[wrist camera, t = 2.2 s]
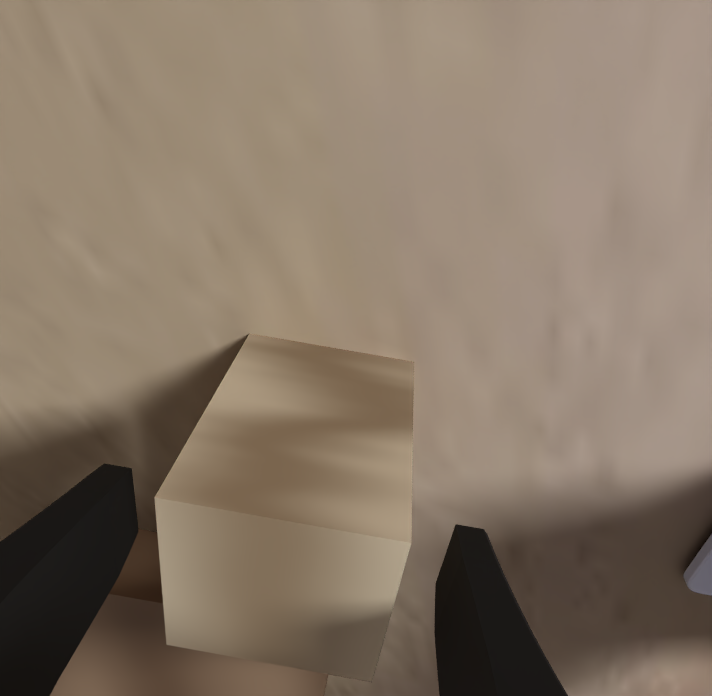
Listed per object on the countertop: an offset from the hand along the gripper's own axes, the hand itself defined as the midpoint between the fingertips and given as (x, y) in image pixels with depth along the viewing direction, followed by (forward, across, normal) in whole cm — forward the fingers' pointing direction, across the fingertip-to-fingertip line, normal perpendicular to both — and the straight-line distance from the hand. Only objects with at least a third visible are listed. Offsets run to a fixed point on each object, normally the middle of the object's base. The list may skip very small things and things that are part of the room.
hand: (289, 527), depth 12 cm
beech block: (+4, 0, 0) cm, 4 cm away
